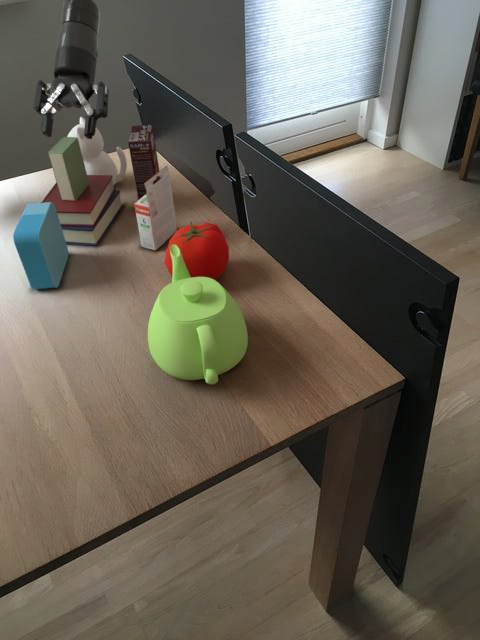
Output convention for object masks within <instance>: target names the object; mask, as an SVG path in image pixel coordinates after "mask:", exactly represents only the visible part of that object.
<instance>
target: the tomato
mask: <svg viewBox="0 0 480 640" xmlns="http://www.w3.org/2000/svg"><path fill="white" fill-rule="evenodd" d="M189 222H190V224H188V225H186V226H184V227H180V228H179V229H177V231H176V232H175V233H174V234H173V235H172V236H171V237H170V238H169V239H170V240H169V242H168V245H167V248H166V249H165V256H164V264H165V267H166V269H167V271H168V273H169V275H170V276H171V277H172V274H173V264H172V257H171V253H170V246H171V245H173V244H175V245H176V246H178V248H179V249H180V251H181V254H182V257H183V260H184V263H185V265H186V268H187V270H188V272H189V275H190V277H191V278H192V277H208V278H211V279H214V280H215V281H217V280H218V279H219V278H220V277H221V276H222V275H223V274H224V272H225V270H226V269H227V267H228V264H229V260H230V251H229V250H230V249H229V248H230V247H229V245H228V243H227V240H226V236H225V234H224V232H223V231H222V229H221V228H220V227H219V226H218V224H216V223H212V222H205V223H202V224H193V222H192V221H191V220H190V221H189Z"/></svg>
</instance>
